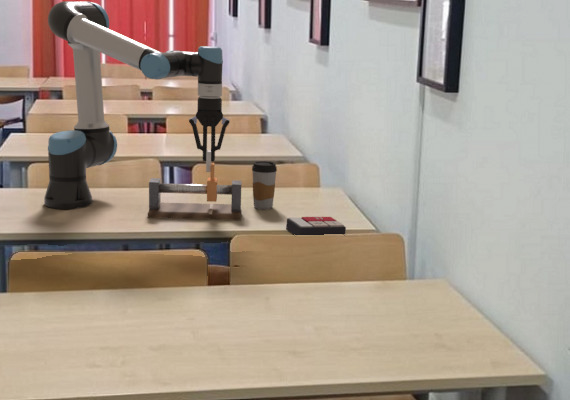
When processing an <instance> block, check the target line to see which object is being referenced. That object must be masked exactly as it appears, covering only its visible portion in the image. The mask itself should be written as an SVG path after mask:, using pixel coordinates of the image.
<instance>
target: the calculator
mask: <svg viewBox="0 0 570 400" xmlns="http://www.w3.org/2000/svg"><path fill="white" fill-rule="evenodd" d="M346 227H347V226H345V224H343V223H342V222H340V221H338V220H336V219H335V218H334V217H332V216H301V217H288V218H286V226H285V229H286V231H288V232H289V233H291V234H292V235H293V234H295V235H324V234H345V235H346V229H347V228H346ZM295 235H294V236H295Z"/></svg>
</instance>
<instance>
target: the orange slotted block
mask: <svg viewBox="0 0 570 400" xmlns="http://www.w3.org/2000/svg"><path fill="white" fill-rule="evenodd" d="M206 181H207V182H206V185H207V194H206V202H210V203H211V202H212V203H213V202H215V203H216V202H217V200H218V194H217V185H218V177H215V162H211V172H210V176H208V177H207V180H206Z"/></svg>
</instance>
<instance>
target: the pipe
mask: <svg viewBox="0 0 570 400" xmlns="http://www.w3.org/2000/svg"><path fill="white" fill-rule="evenodd" d="M161 194H190V195H191V194H194V195H195V194H197V195H198V194H199V195H207V184H202V183H201V184H199V183H198V184H197V183H194V184H193V183H190V184H189V183H163V182H161V178H159V177H158V178H157V177H156V178H155V177H151V178H150V179H149V181H148V211H149V210H159V208H160V203H161ZM217 195H226V196H227V195H229V196H230V195H231V203H230V204H231V212H241V213H242V211H241V209H242V180H237V179H235V180H233V179H232V180H231V184H217Z"/></svg>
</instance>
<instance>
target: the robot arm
mask: <svg viewBox="0 0 570 400" xmlns="http://www.w3.org/2000/svg"><path fill="white" fill-rule="evenodd" d="M47 23H48V27H49V29H50V31H51V32H52V33H53V34H54V36H56V37H58V38H60V39H62V40H65V41H67V46H69V47H70V48H71V49H72V53H73V67H74V80H75V81H74V82H75V83H74V84H75V97H76V108H77V120H78V121H77V123H76V124H75V125H74V126H73V128H74V129H73V130H72V129H71V130H66V131H65V130H62V131H57V132H54V133H53V134H51V135H50V136H49V138H48V145H47V151H48V152H47V153H48V175H49V178H48V179H49V181H48V185H47V188H46V191H45V195H44V200H43V201H44V206H46V207H47V208H51V209H56V210H57V209H58V210H73V209H74V210H75V209H82V208H86V207H90V206H91V205H92V204H93V196H92V193H91V190H90V187H89V185H88V181H87V169H88V168H92V167H96V166H102V165H104V164H106V163H108V162H110V161H112V159H113V158H114V157H115V156H116V153H117V150H118V142H117V141H118V140H117V138H116V135H114V133H113V132H112V131H111V130H110V124H108V123H107V121H106V120H105V112H104V111H105V110H104V95H103V81H102V79H103V78H102V64H101V54H103V55H106V56H107V57H110V58H111V59H115V60H117V61H119V62H121V63H123V64H126V65H128V66H130V67H132V68H135V69H137V70H139V71H141V73H142V74H143V75H144V76H145V78H148V79H151V80H162V79H167V78H174V77H184V76H185V77H196V78H197V96H199V97H197V111H196V113H195V116H192V117H190V118H189V120H188V123H189V124H190V126H191V128H192V133H193V137H194V141H195V145H196V148H197V150H200V151H202V161H203V162H205V173H211V163H212V162H215V161H216V152H217V151H219V150H221V148H222V143H223V140H224V137H225V134H226V133H225V132H226V130H227V127H228V126H229V124H230V119H229V118H226V117H224V114H223V110H222V109H223V108H222V107H223V106H222V105H223V104H222V103H223V100H222V99H223V98H221V97H222V96H223V64H224V59H223V49H222V48H221V47H220V46H209V45H207V46H205V45H203V46H202V45H201V46H199V47H198V50H197V51H182V50H177V49H176V50H167V51H165V52H161V51H160V50H157V49H154V48H152V47H150V46H148V45H146V44H144V43H141V42H138V41H137V40H134V39H132V38H130V37H128V36H126V35H123V34H121V33H119V32H116V31H114V30H113V29H109V28H110V17H109V15H108V12H107V11H106V9H105V8H103V7H102V6H101V5H100V4H98V3H97V2H92V1H71V0H67V1H64V0H63V1H60V2H58V3H56V4H54V5H53V6H52V7H51V9H50V10H49V12H48V16H47ZM198 122H199V123H200V125H201V126H202V143H201V139H200V135H199V130H198V127H197V123H198ZM220 122H221V125H222V127H221V129H220V134H219V138H218V141H217V145H216V127H217V126H218V125H219V123H220ZM208 127H209V128H210V130H211V131H210V133H211V134H210V135H211V137H210V150H208Z"/></svg>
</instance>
